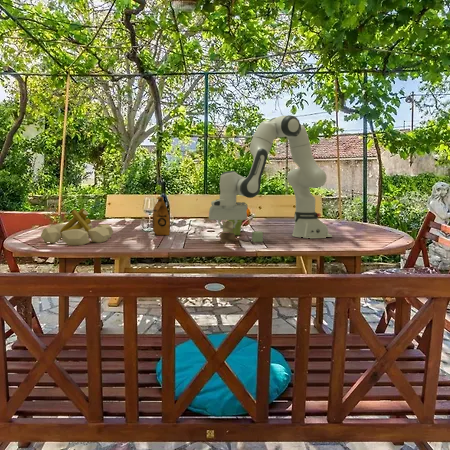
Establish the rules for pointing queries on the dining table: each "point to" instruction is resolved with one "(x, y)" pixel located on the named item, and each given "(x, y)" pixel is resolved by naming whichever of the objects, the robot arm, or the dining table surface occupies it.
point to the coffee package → (161, 218)
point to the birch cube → (227, 226)
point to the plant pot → (236, 227)
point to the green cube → (257, 236)
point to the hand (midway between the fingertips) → (227, 228)
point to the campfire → (77, 231)
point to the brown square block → (227, 237)
